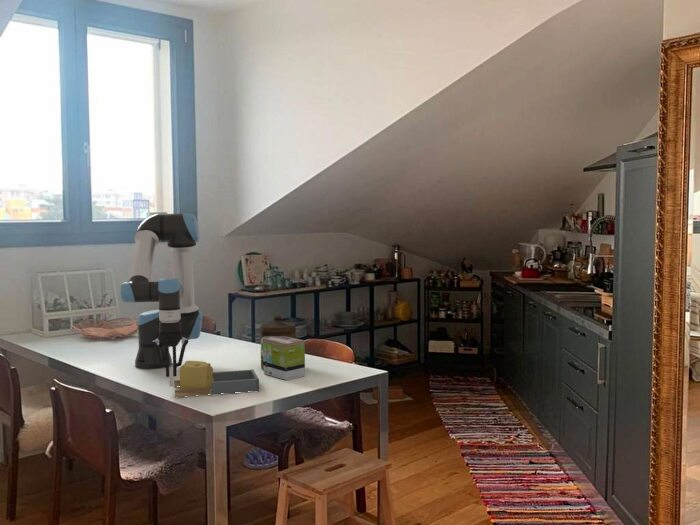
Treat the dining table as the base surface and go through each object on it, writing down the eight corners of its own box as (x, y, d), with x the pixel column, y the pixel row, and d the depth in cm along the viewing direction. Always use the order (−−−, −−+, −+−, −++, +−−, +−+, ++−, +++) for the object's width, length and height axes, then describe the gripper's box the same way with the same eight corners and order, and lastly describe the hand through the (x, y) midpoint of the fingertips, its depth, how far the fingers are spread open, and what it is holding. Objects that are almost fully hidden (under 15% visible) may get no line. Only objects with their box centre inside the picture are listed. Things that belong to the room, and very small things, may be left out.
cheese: (214, 386, 264) (213, 360, 263) (207, 394, 253) (206, 366, 252) (186, 386, 264) (185, 360, 264) (178, 394, 254) (177, 367, 253)
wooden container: (256, 371, 288) (255, 317, 286) (266, 363, 302) (265, 312, 301) (291, 372, 285) (290, 318, 284) (300, 364, 300) (299, 312, 298)
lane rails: (174, 386, 264) (173, 380, 264) (208, 384, 268) (207, 377, 267) (174, 397, 249) (174, 391, 249) (210, 395, 252) (210, 388, 252)
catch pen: (208, 384, 268) (208, 372, 267) (253, 381, 272) (253, 369, 272) (211, 395, 252) (211, 382, 252) (259, 391, 257) (258, 379, 256)
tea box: (262, 374, 282) (261, 338, 281) (282, 370, 289) (281, 334, 288) (286, 381, 272) (285, 343, 270) (306, 376, 278) (305, 339, 277)
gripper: (151, 323, 249) (152, 389, 251) (188, 321, 252) (190, 386, 254) (151, 320, 256) (153, 384, 258) (188, 318, 260) (189, 382, 261)
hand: (171, 385), depth 256 cm, fingers closed
